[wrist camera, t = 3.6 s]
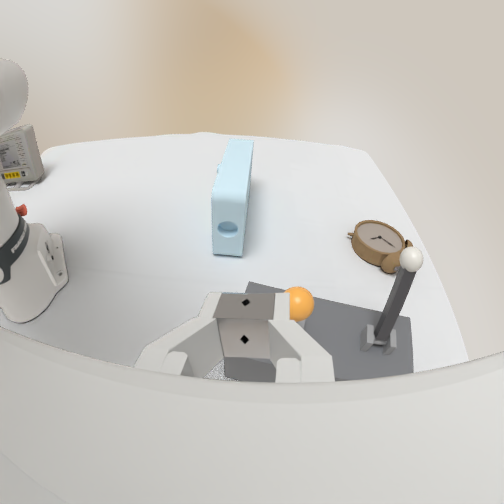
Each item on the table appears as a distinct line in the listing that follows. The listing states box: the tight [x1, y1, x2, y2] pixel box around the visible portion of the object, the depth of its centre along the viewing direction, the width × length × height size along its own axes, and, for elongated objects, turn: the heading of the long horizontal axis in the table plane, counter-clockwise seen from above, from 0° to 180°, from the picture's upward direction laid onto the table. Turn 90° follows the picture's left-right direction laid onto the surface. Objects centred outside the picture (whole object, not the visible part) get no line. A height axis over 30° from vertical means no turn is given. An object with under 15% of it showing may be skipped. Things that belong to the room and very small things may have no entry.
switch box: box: [224, 281, 413, 382], centre depth 31 cm, size 10×22×10 cm, turn 75°
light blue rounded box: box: [211, 139, 254, 256], centre depth 52 cm, size 23×6×13 cm, turn 177°
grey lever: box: [373, 247, 423, 346], centre depth 26 cm, size 3×3×12 cm
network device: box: [0, 124, 44, 191], centre depth 58 cm, size 26×9×20 cm, turn 86°
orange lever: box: [284, 287, 314, 323], centre depth 24 cm, size 3×3×12 cm
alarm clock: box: [348, 220, 413, 273], centre depth 51 cm, size 11×5×15 cm
